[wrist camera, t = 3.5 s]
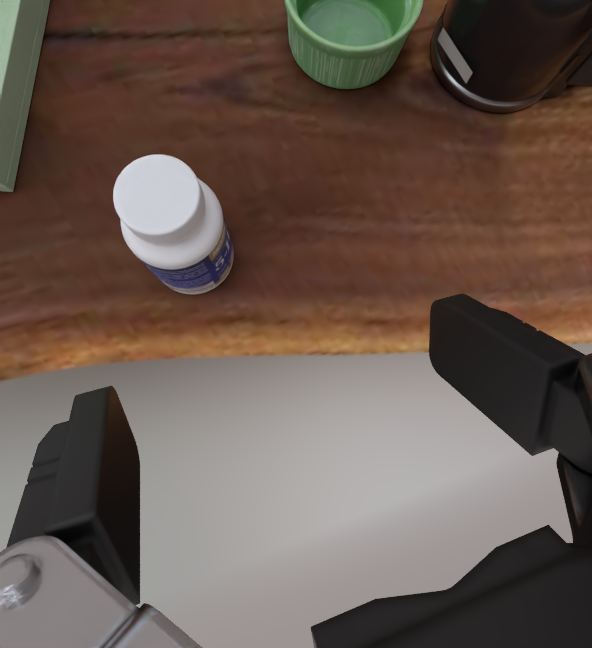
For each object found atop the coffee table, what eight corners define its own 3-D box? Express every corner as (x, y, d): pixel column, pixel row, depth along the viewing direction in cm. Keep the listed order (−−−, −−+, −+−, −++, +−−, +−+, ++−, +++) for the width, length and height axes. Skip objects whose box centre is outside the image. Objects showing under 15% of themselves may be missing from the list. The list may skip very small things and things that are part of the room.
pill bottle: (239, 289, 28) (221, 241, 19) (159, 301, 28) (103, 258, 19) (228, 213, 29) (206, 133, 20) (149, 224, 29) (92, 148, 20)
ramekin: (388, 113, 31) (405, 66, 26) (266, 78, 31) (264, 26, 26) (417, 9, 32) (438, -51, 28) (301, -24, 32) (305, -89, 28)
